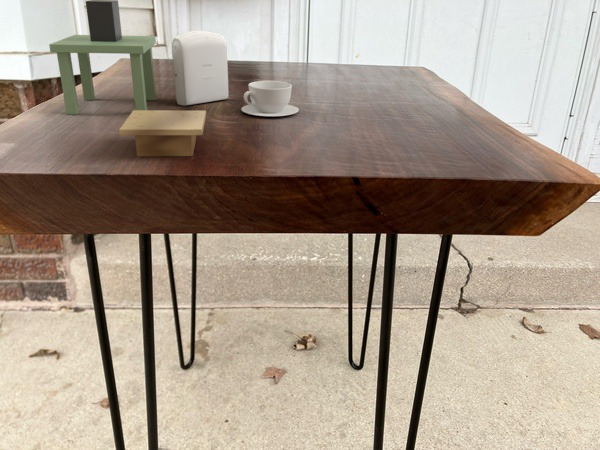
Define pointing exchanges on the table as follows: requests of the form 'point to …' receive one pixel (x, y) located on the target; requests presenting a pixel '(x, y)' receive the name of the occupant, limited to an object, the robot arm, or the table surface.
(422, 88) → the table surface
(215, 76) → the photo printer
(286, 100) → the teacup
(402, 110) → the table surface
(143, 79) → the high shelf
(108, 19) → the black block
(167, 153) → the low shelf
